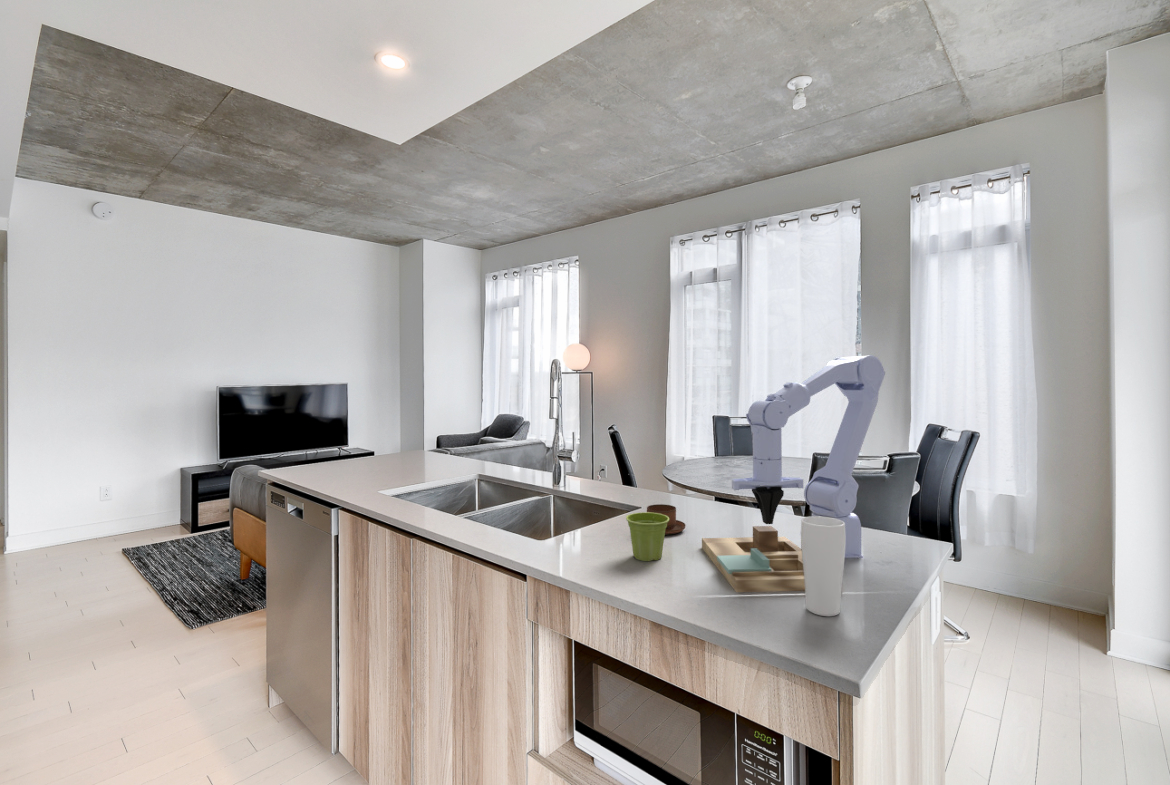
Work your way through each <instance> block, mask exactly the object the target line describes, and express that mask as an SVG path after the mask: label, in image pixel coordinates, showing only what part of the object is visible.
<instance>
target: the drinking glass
mask: <svg viewBox="0 0 1170 785" xmlns="http://www.w3.org/2000/svg"><path fill="white" fill-rule="evenodd" d="M800 521H801V524H800V545H801V546H800V548H801V550H802V561H803V572H804V583H805V591H804V593H805V608H806V609H807V610H808V611H809V612H810V613H812V614H814V615H817V616H819V617H820V616H822V617H836V616H838V615H839V614H840V613H841V606H842V605H841V604H842V603H841V600H842V589H843V588H842V587H843V578H844V570H845V569H844V568H845V560H846V558H845V544H846V536H845V523H844V522H843V521H841V520H839V519H835V518H830V517H822V516H812V515H811V516H806V517H803V518H801V520H800Z"/></svg>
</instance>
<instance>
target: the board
mask: <svg viewBox="0 0 1170 785" xmlns="http://www.w3.org/2000/svg"><path fill="white" fill-rule="evenodd" d="M701 548H702V550H703V551H704V553H705V554H706V555H707V557H709V559H710V560H711V561H712V563H713V564H714V566H715V567H716V568H717V570H719V572H720V573H721V574H722V575H723V577H724V578H725V579H726V581H727V582H728V584H730V586H731V587H732V588H733V590H734V591H735V592H736V593H755V592H756V593H760V592H764V593H765V592H802V591H804V592H805V583H804V572H803V561H802V550H801V547H799V546H798V545H796V544H795V543H794V542H792V541H791V540H790V539H788V538H787V537H786V536H778V552H761V553H762V554H764V555H765V556H766V557H767V558H768V559H769V567H770V568H771V571H753V572H732V574H728V572H727V571H726V570H725V569H724V568H723V566H722V565H721V564H720V563H719V561H718V560H717V556H727V555H751V548H753V536H752V537H745V536H744V537H707V538H706V537H705V538H703V537H702V538H701Z"/></svg>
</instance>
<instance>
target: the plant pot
mask: <svg viewBox="0 0 1170 785" xmlns="http://www.w3.org/2000/svg"><path fill="white" fill-rule="evenodd" d="M625 519H626V521H627V525H628V527H629V533H630V540H631V546H632V556H633V557H635V559H636V560H638V561H642V562H651V561H654V560H655V561H659V560H660V559H661V558H663V557H662V556H663V549H664V540H665V536H666V535H665V529H666V527H667V522H669V517H668V516H666V515H663V514H659V513H651V512H647V511H645V512H634V513H629V514H628V515H626V517H625Z"/></svg>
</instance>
